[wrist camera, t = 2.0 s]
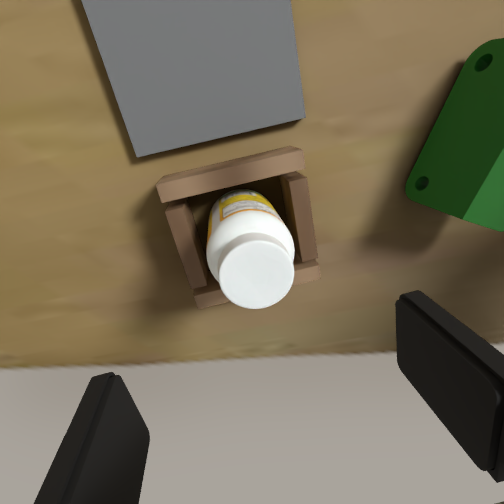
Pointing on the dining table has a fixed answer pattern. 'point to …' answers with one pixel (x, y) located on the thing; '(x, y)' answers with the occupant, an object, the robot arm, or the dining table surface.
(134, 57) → the rubber mat
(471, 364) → the robot arm
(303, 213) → the frame
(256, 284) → the supplement bottle
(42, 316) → the dining table surface
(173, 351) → the dining table surface
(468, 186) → the clamp
